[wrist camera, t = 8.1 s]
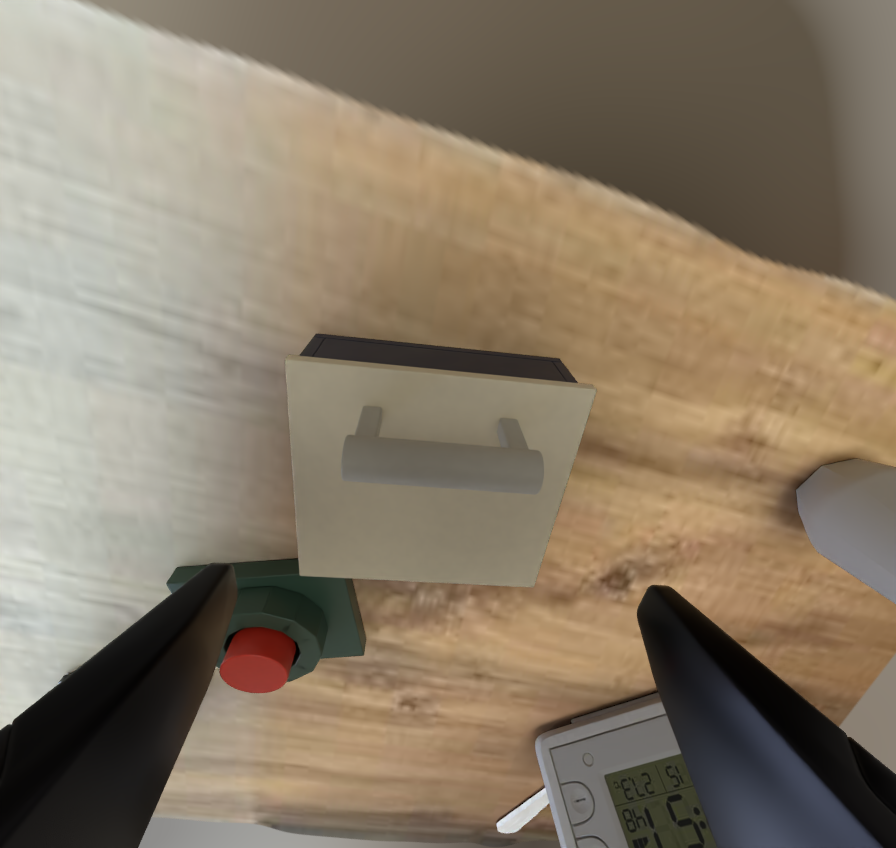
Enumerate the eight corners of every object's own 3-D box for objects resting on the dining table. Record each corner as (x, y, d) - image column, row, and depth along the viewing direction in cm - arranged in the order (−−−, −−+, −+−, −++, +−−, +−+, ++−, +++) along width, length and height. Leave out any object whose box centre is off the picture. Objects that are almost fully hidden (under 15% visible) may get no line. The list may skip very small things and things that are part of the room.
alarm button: (242, 665, 25) (230, 695, 24) (223, 627, 24) (209, 657, 22) (302, 661, 25) (294, 691, 24) (288, 623, 24) (278, 652, 22)
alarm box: (219, 649, 29) (198, 695, 26) (176, 566, 25) (146, 611, 22) (366, 638, 29) (360, 683, 26) (346, 555, 25) (336, 597, 22)
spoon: (480, 824, 45) (481, 831, 44) (576, 743, 37) (578, 750, 36) (524, 830, 46) (525, 837, 45) (625, 753, 38) (627, 760, 38)
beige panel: (288, 354, 15) (243, 407, 11) (592, 384, 16) (641, 442, 12) (302, 567, 20) (274, 652, 16) (531, 579, 21) (553, 661, 17)
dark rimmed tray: (315, 332, 18) (289, 366, 15) (559, 358, 19) (588, 395, 16) (321, 509, 23) (302, 566, 20) (516, 522, 24) (531, 578, 21)
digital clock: (729, 668, 32) (850, 857, 23) (729, 730, 36) (832, 914, 27) (523, 708, 34) (555, 899, 25) (544, 763, 38) (579, 947, 29)
